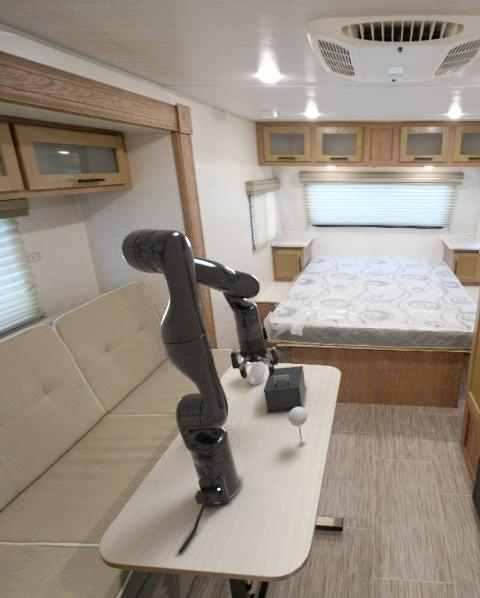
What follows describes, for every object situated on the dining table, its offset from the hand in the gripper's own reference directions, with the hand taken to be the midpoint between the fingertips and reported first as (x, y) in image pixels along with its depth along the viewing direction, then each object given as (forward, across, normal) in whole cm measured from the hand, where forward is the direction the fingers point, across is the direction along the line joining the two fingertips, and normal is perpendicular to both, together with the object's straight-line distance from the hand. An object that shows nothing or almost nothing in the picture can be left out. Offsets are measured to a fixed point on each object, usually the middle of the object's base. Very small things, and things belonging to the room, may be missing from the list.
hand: (258, 375), depth 116 cm
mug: (+22, -10, +26) cm, 35 cm away
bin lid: (+11, +5, +12) cm, 17 cm away
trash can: (+21, +5, +12) cm, 25 cm away
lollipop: (+21, +13, -13) cm, 28 cm away
